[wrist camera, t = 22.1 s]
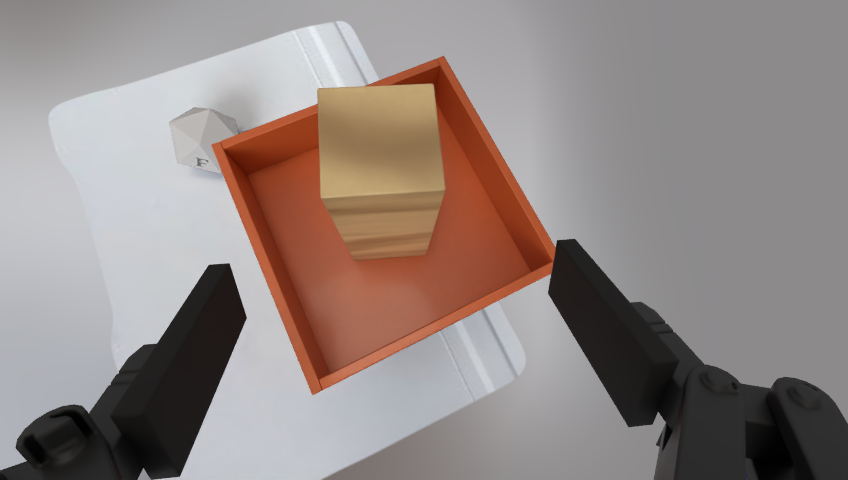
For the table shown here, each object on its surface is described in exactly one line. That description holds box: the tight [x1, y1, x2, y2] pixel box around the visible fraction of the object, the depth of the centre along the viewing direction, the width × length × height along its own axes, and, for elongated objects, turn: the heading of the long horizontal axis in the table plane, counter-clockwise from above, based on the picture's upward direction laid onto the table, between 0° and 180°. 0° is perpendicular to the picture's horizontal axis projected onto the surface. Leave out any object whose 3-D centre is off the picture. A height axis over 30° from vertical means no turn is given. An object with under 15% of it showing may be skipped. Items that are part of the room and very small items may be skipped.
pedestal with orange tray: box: [211, 56, 556, 395], centre depth 40 cm, size 16×16×33 cm
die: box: [169, 107, 239, 174], centre depth 55 cm, size 8×9×10 cm
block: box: [317, 84, 446, 261], centre depth 22 cm, size 5×5×12 cm
